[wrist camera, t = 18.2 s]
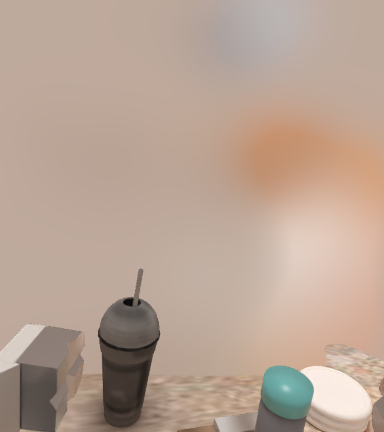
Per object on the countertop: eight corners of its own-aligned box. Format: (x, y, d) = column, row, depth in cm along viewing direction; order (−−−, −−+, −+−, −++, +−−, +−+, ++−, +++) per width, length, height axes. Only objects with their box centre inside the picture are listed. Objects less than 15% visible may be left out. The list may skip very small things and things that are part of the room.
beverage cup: (132, 383, 49) (144, 250, 44) (162, 418, 44) (180, 272, 39) (82, 405, 44) (90, 259, 39) (110, 447, 39) (123, 285, 34)
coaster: (355, 392, 53) (361, 373, 52) (376, 448, 44) (384, 425, 43) (289, 377, 55) (293, 358, 54) (295, 428, 45) (300, 405, 44)
